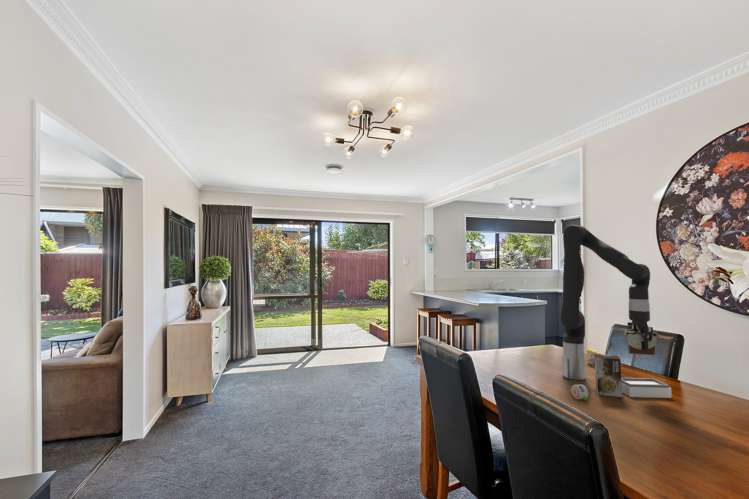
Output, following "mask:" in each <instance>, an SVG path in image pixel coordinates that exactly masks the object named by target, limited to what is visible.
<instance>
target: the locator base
mask: <svg viewBox="0 0 749 499" xmlns="http://www.w3.org/2000/svg"><path fill="white" fill-rule="evenodd" d="M621 381H622V394H624V395H626V396H627V397H629V398H650V399H651V398H652V399H653V398H654V399H655V398H660V399H662V398H663V399H672V387H670V385H669V384H667V383H665V382H663V381H661V380H658V379H657V378H653V377H651V378H648V377H621Z"/></svg>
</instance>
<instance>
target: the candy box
mask: <svg viewBox="0 0 749 499" xmlns="http://www.w3.org/2000/svg"><path fill="white" fill-rule="evenodd" d="M595 354H603V355H607V354H605V353H602V352H600V351H599V352H598V351H597V350H593V349H590V348H587V349H586V357H587V358H586V359H587V360H586V361H587V362H586V363H587V364H588V365H590V366H593V367H595Z"/></svg>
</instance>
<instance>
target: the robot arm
mask: <svg viewBox="0 0 749 499" xmlns="http://www.w3.org/2000/svg"><path fill="white" fill-rule="evenodd" d="M562 239H563V251H564V252H563V254H564V255H563V273H562V306H561V311H560V322H561V324H562V326H563V327H564V333H563V336H562V347H563V348H562V350H563V351H562V352H563V354H562V356H561V373H562V374H561V375H562V376H563V377H564V378H566V379H569V380H577V381H583V380H585V379H586V365H585V359H586V358H585V337H586V320H585V316H584V314H583V312H582V311H580V302H581V301H580V299H581V296H582V293H583V289H584V285H585V268H584V264H583V261H582V258H581V246H583V247H585V248H587V249H589V250H590V251H592V252H593V253H594V254H596V255H597V256H598V257H599V258H600V259H601V260H603V261H604V262H605V263H607V264H609V265H610V266H612V267H613V268H616V269H617V270H618V271H619V272H621V274H623V275H624V276H625V277H627V278H628V279H631V285H629V287H628V319H629V321H628V322H627V329H632V331H635V332H638V333H639V336H640V337H641V340H642V341H641V344H642V350H648V341H652V334H653V331H654V328H653V327H652V326H649V325H648V322H650V321H651V310H650V309H651V306H650V301H649V298H650V297H649V287H650V281H651V271H650V268H649V267H648V266H647V265H646V264H643V263H637V262H635V261H634V260H631V259H630V258H629V256H628V255H626V254H625V253H623V252H622V251H620V250H618V249H616V248H614V247H613V246H611V245H610V244H607V243H606V242H605V241H602V240H601V239H599V238H598V237H596V236H595V235H594V234H593V233H591V231H589V230H588V229H587V228H585V226H583V225H576V224H570V225H567V226H566V227H565V229H564V230H563V233H562ZM642 333H645V334H642ZM643 336H644V337H643ZM648 336H649V337H648Z"/></svg>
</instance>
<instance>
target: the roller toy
mask: <svg viewBox="0 0 749 499" xmlns="http://www.w3.org/2000/svg"><path fill="white" fill-rule="evenodd" d="M570 391H571V395H572V396H573V398H574V399H575V400H583V401H587V400H588V397H589V390H588V388H587V386H585V385H584V384H579V383H578V384H574V385H572V386H571V388H570Z"/></svg>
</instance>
